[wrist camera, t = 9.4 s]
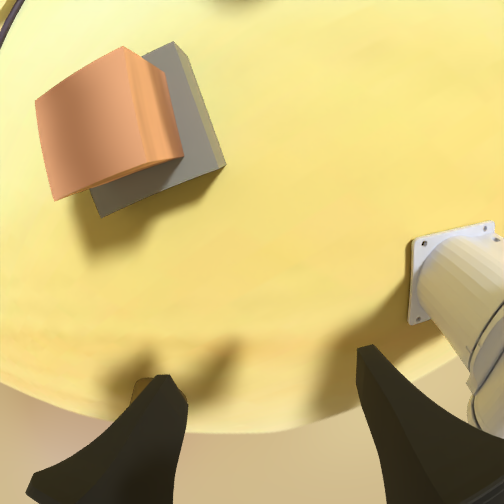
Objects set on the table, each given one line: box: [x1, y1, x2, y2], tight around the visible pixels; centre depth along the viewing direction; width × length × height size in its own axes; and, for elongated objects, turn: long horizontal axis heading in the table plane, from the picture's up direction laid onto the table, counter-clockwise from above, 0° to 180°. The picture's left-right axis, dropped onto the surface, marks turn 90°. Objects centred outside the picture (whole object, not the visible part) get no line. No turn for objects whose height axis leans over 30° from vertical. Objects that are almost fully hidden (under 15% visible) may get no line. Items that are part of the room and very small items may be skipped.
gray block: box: [89, 41, 226, 218], centre depth 15 cm, size 8×8×4 cm
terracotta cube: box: [35, 46, 184, 201], centre depth 11 cm, size 5×5×5 cm
